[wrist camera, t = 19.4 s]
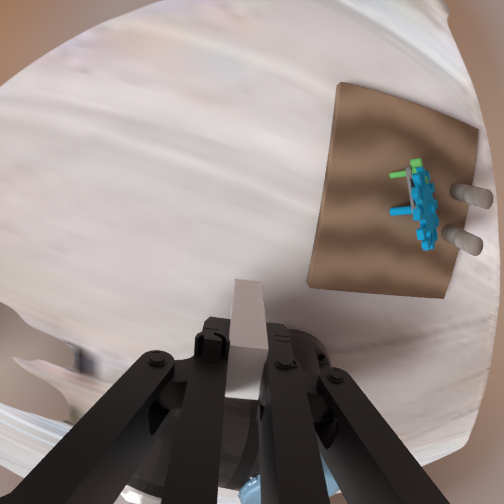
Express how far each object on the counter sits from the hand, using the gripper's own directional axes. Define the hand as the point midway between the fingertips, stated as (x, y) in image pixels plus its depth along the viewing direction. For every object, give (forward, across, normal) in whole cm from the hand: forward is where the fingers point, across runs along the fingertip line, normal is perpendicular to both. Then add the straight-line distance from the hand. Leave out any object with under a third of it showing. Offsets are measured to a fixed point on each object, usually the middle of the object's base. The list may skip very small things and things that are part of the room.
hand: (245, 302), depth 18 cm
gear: (+20, -20, -7) cm, 30 cm away
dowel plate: (+22, -20, -6) cm, 30 cm away
